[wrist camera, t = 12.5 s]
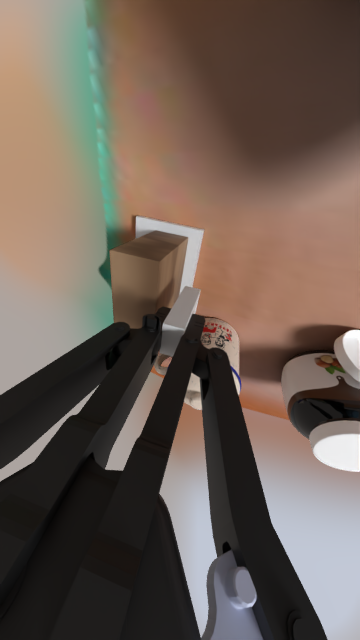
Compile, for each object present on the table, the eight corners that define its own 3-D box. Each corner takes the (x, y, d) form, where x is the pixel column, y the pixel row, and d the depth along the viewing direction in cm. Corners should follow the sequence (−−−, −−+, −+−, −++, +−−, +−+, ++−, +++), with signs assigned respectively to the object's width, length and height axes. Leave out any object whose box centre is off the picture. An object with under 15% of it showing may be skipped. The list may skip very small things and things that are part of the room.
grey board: (139, 215, 23) (136, 216, 23) (204, 229, 22) (203, 230, 22) (137, 289, 29) (134, 292, 28) (188, 303, 28) (187, 306, 27)
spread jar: (276, 384, 32) (292, 463, 23) (279, 326, 27) (301, 400, 17) (368, 389, 28) (433, 487, 19) (394, 323, 23) (504, 415, 13)
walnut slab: (151, 291, 27) (114, 332, 19) (155, 230, 23) (109, 250, 15) (178, 298, 27) (152, 343, 19) (188, 237, 22) (159, 261, 14)
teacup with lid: (239, 313, 27) (238, 377, 18) (242, 362, 31) (243, 434, 22) (159, 317, 31) (124, 372, 21) (172, 360, 35) (147, 421, 26)
